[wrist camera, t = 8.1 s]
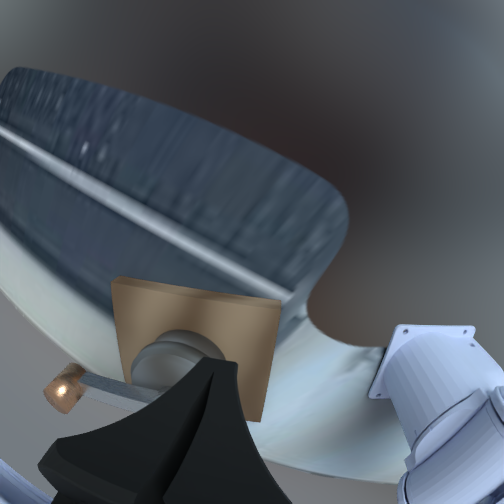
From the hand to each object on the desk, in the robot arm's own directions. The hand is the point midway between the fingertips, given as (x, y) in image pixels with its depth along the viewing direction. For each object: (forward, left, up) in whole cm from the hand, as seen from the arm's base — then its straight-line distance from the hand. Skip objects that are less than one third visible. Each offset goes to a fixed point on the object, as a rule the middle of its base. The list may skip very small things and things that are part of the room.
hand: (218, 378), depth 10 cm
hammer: (+8, +7, -5) cm, 12 cm away
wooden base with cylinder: (+4, +7, -10) cm, 13 cm away
